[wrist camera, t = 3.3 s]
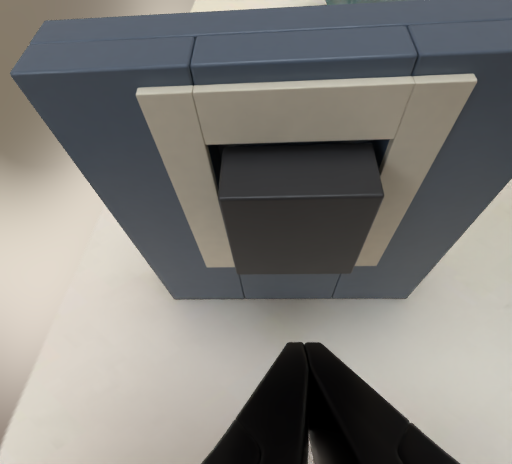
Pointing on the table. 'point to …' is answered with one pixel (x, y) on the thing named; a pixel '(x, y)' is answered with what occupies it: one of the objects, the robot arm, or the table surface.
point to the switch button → (298, 206)
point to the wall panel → (283, 125)
